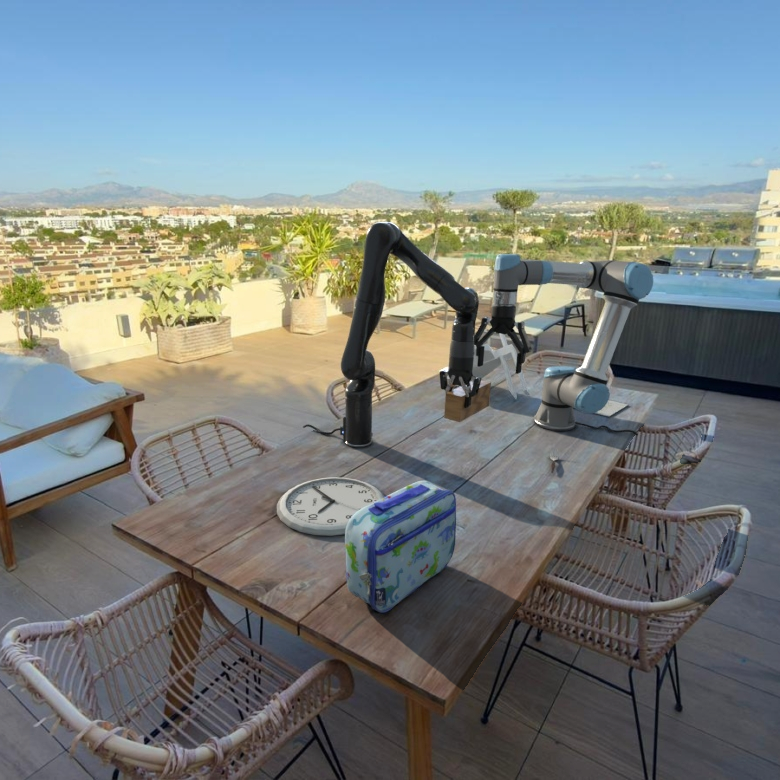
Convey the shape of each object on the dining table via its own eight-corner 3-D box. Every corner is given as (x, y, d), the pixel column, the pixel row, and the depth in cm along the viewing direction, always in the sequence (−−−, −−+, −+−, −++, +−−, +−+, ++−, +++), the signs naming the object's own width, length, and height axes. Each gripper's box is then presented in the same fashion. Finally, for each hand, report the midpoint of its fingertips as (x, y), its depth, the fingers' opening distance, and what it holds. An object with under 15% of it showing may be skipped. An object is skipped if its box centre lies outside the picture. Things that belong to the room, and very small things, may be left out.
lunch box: (374, 626, 100) (375, 530, 93) (338, 598, 107) (337, 508, 101) (459, 568, 117) (465, 484, 111) (424, 547, 124) (427, 467, 118)
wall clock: (392, 527, 129) (268, 531, 127) (391, 533, 130) (269, 537, 127) (383, 473, 158) (282, 475, 155) (383, 478, 158) (282, 480, 156)
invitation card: (608, 416, 214) (573, 407, 224) (608, 416, 214) (573, 408, 224) (628, 404, 229) (594, 396, 238) (628, 405, 229) (594, 397, 238)
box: (474, 402, 183) (476, 378, 181) (489, 405, 180) (491, 382, 177) (444, 418, 167) (445, 392, 165) (459, 422, 164) (461, 396, 161)
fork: (547, 473, 163) (548, 467, 163) (550, 454, 177) (551, 448, 177) (556, 475, 162) (556, 469, 162) (558, 455, 177) (559, 449, 176)
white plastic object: (461, 429, 252) (437, 405, 227) (444, 352, 274) (420, 323, 250) (535, 404, 240) (518, 377, 215) (510, 326, 262) (492, 293, 237)
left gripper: (435, 352, 163) (432, 403, 168) (476, 360, 155) (472, 413, 160) (447, 348, 169) (444, 397, 174) (488, 355, 161) (483, 407, 166)
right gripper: (463, 301, 170) (459, 365, 176) (537, 309, 155) (530, 378, 162) (474, 299, 175) (470, 361, 182) (546, 307, 161) (539, 373, 168)
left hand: (457, 405), depth 167 cm, fingers closed on box, 5 cm apart
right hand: (498, 369), depth 172 cm, fingers open, 13 cm apart
